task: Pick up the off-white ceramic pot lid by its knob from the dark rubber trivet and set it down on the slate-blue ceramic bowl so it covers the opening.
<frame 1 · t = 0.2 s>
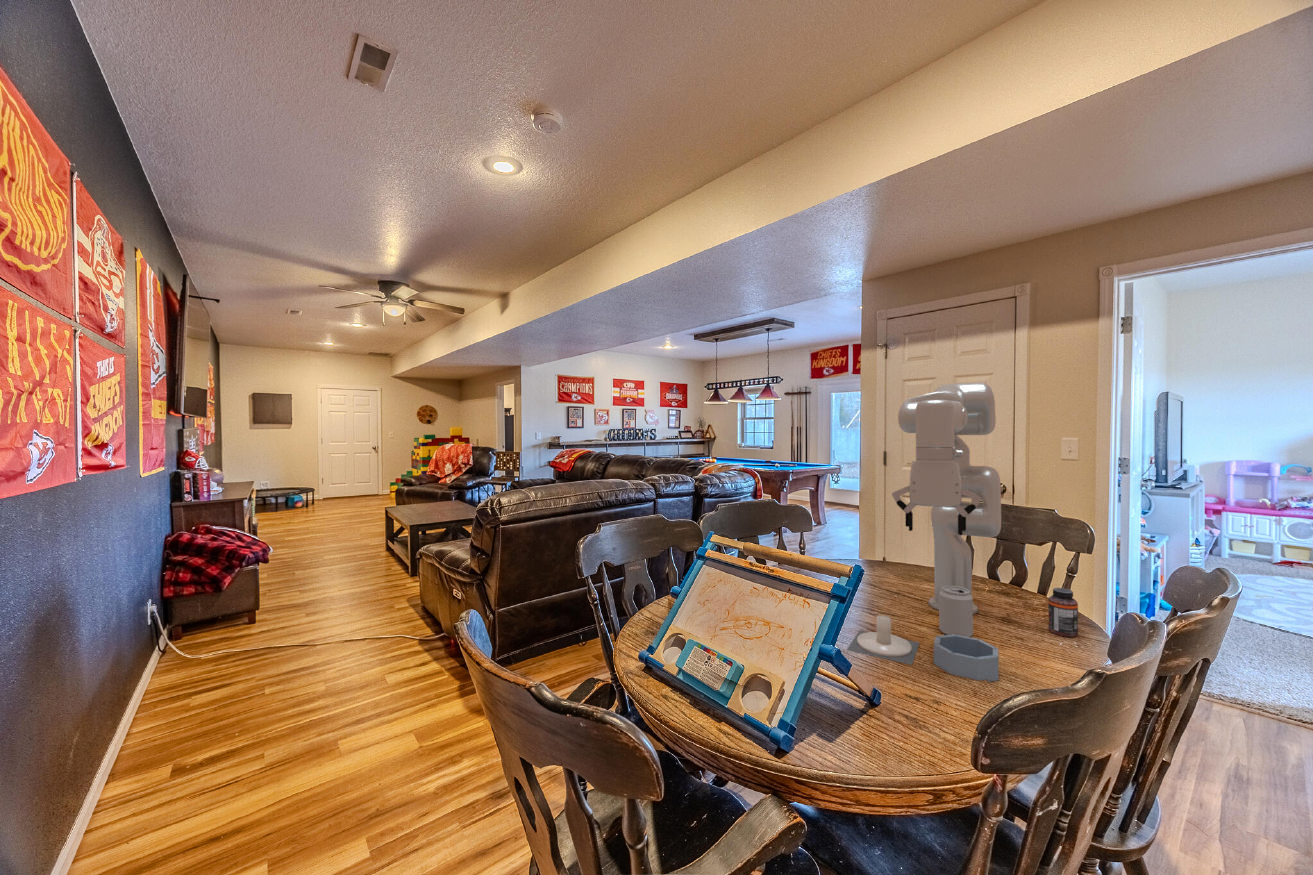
hand: (934, 531, 110), 30 cm above the table, fingers open, 9 cm apart
can: (955, 635, 128), on the table
bowl: (965, 668, 110), on the table
lid: (883, 646, 120), point 1 cm above the table, touching trivet
trivet: (883, 648, 120), on the table
supplement bottle: (1063, 633, 128), on the table
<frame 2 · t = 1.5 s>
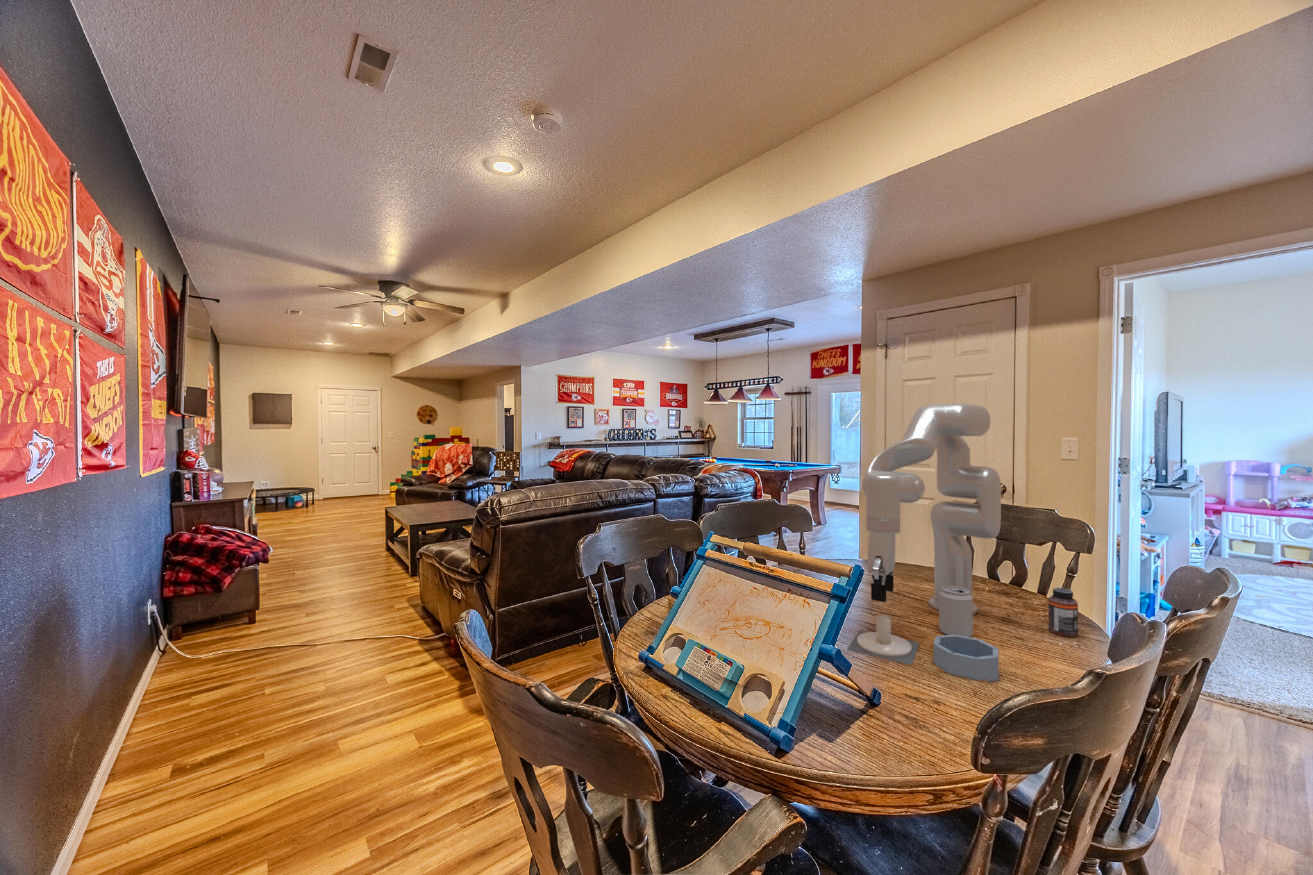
hand: (882, 595, 120), 13 cm above the table, fingers open, 9 cm apart
nothing on the table moved.
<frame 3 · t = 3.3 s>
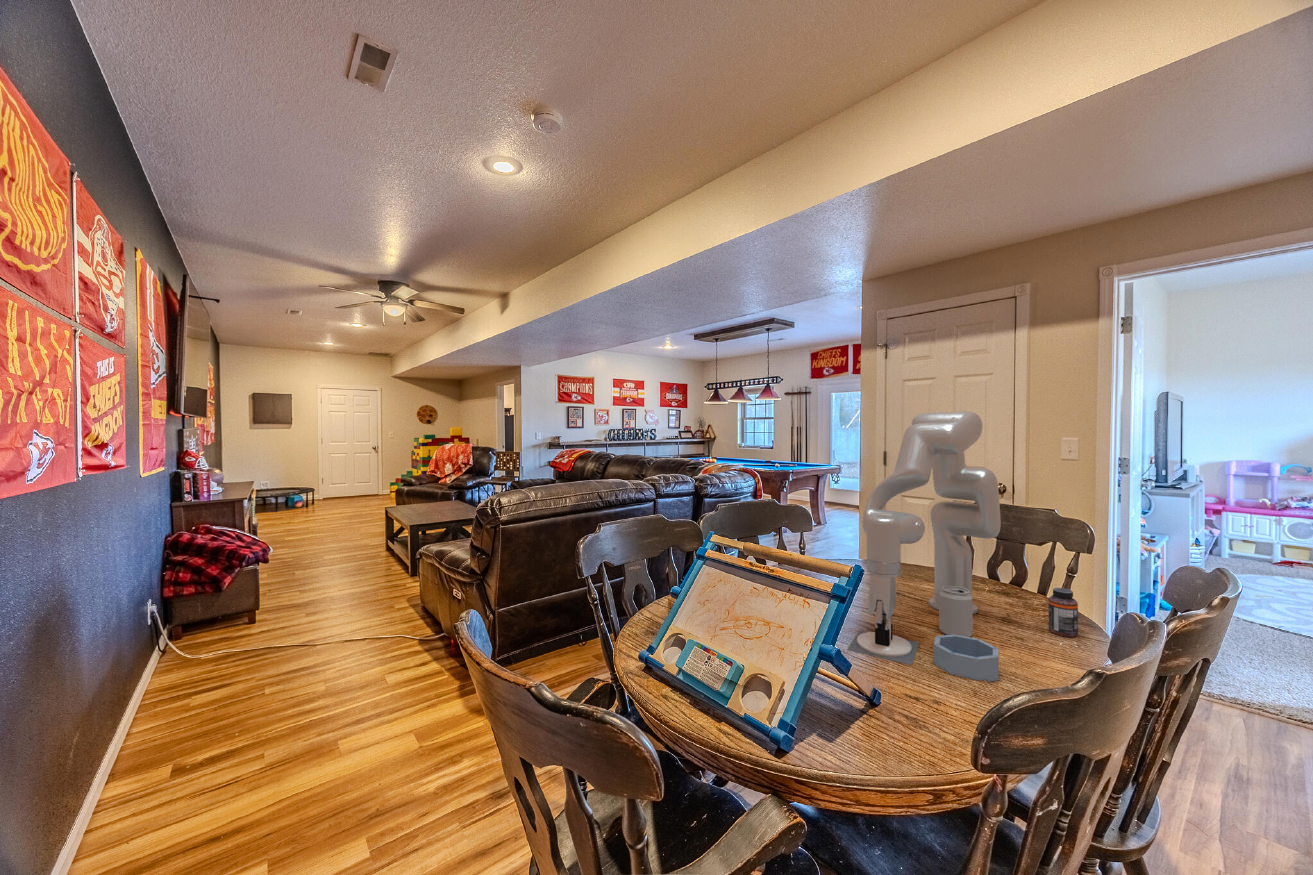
hand: (883, 641, 120), 2 cm above the table, fingers closed on lid, 3 cm apart
lid: (883, 645, 120), point 1 cm above the table, touching gripper, trivet
everything else where it was.
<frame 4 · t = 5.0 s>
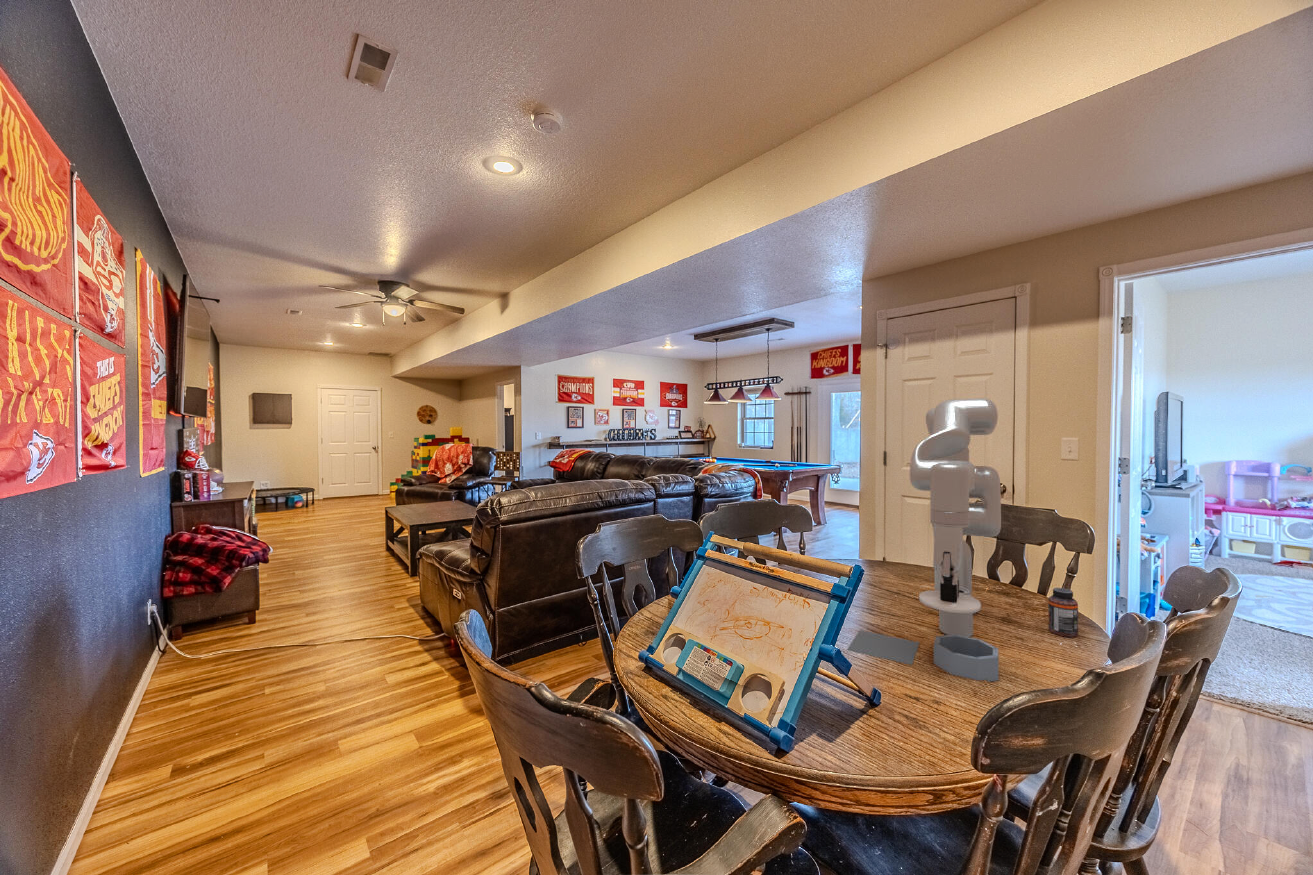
hand: (949, 598, 112), 15 cm above the table, fingers closed on lid, 3 cm apart
lid: (949, 603, 112), point 14 cm above the table, touching gripper
everything else where it was.
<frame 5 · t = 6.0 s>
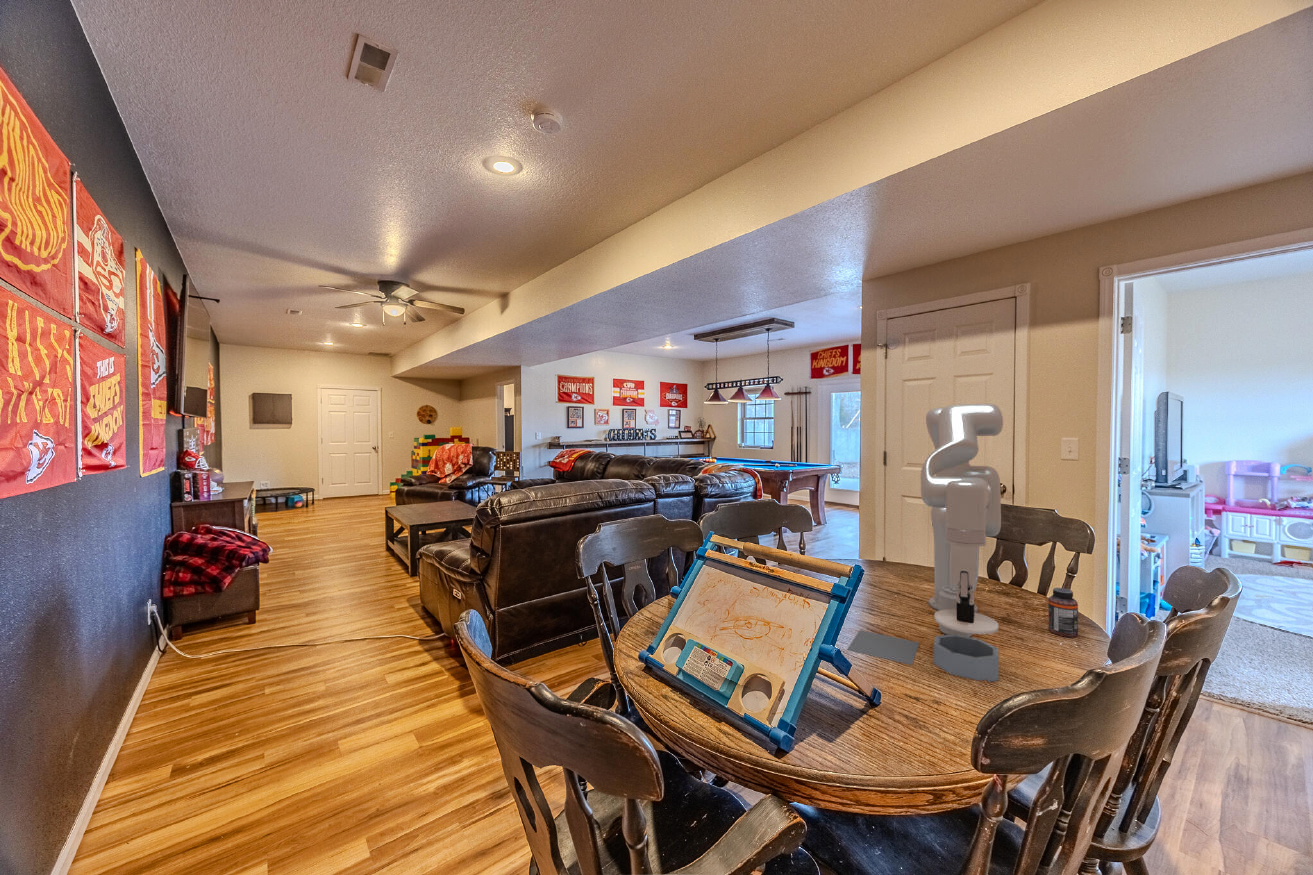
hand: (965, 618, 110), 11 cm above the table, fingers closed on lid, 3 cm apart
lid: (965, 623, 110), point 10 cm above the table, touching gripper
everything else where it was.
when the fingers open (8 cm above the table, at t = 6.8 s): lid drops 2 cm, resting on bowl.
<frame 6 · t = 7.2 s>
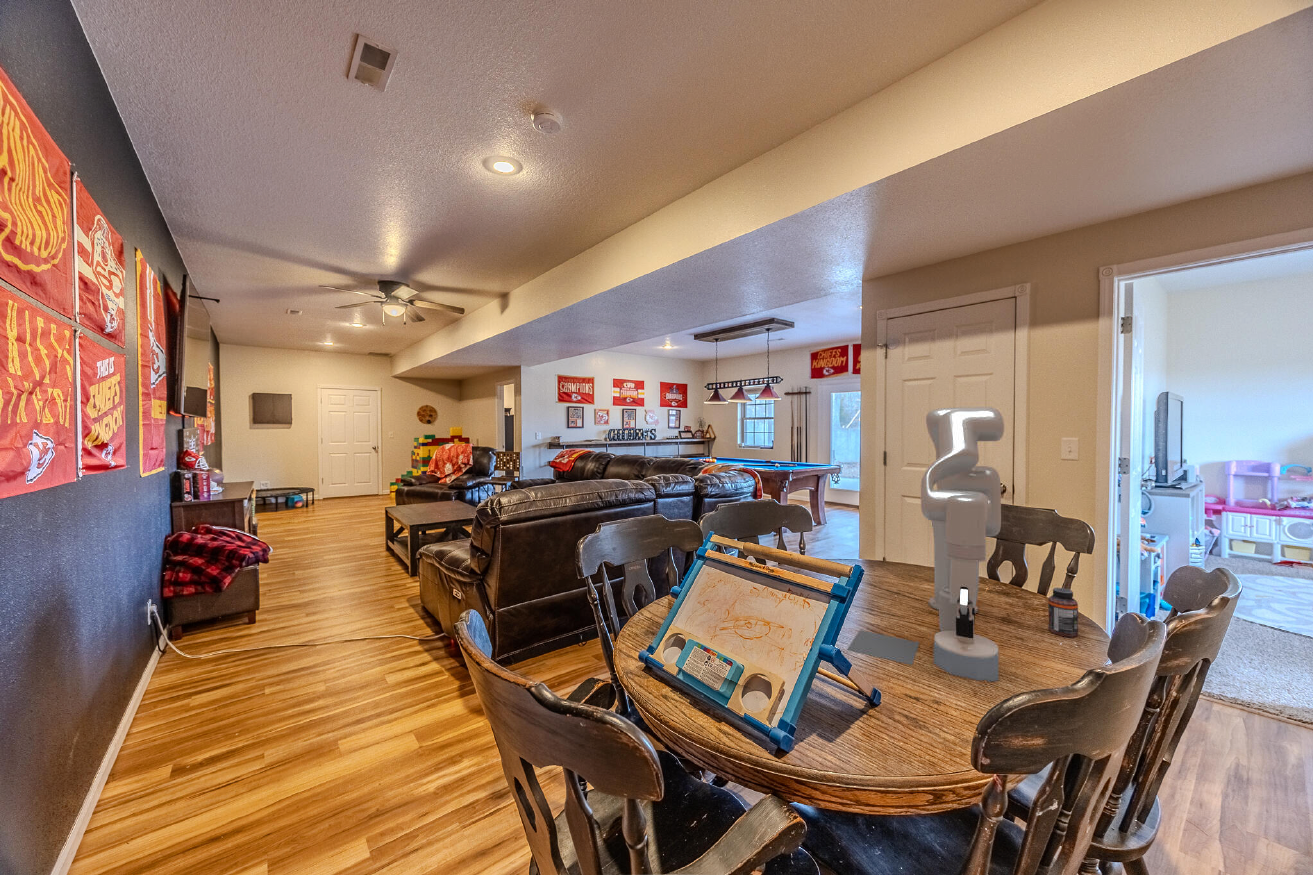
hand: (965, 629, 110), 9 cm above the table, fingers open, 7 cm apart
lid: (965, 645, 110), point 5 cm above the table, touching bowl
everything else where it was.
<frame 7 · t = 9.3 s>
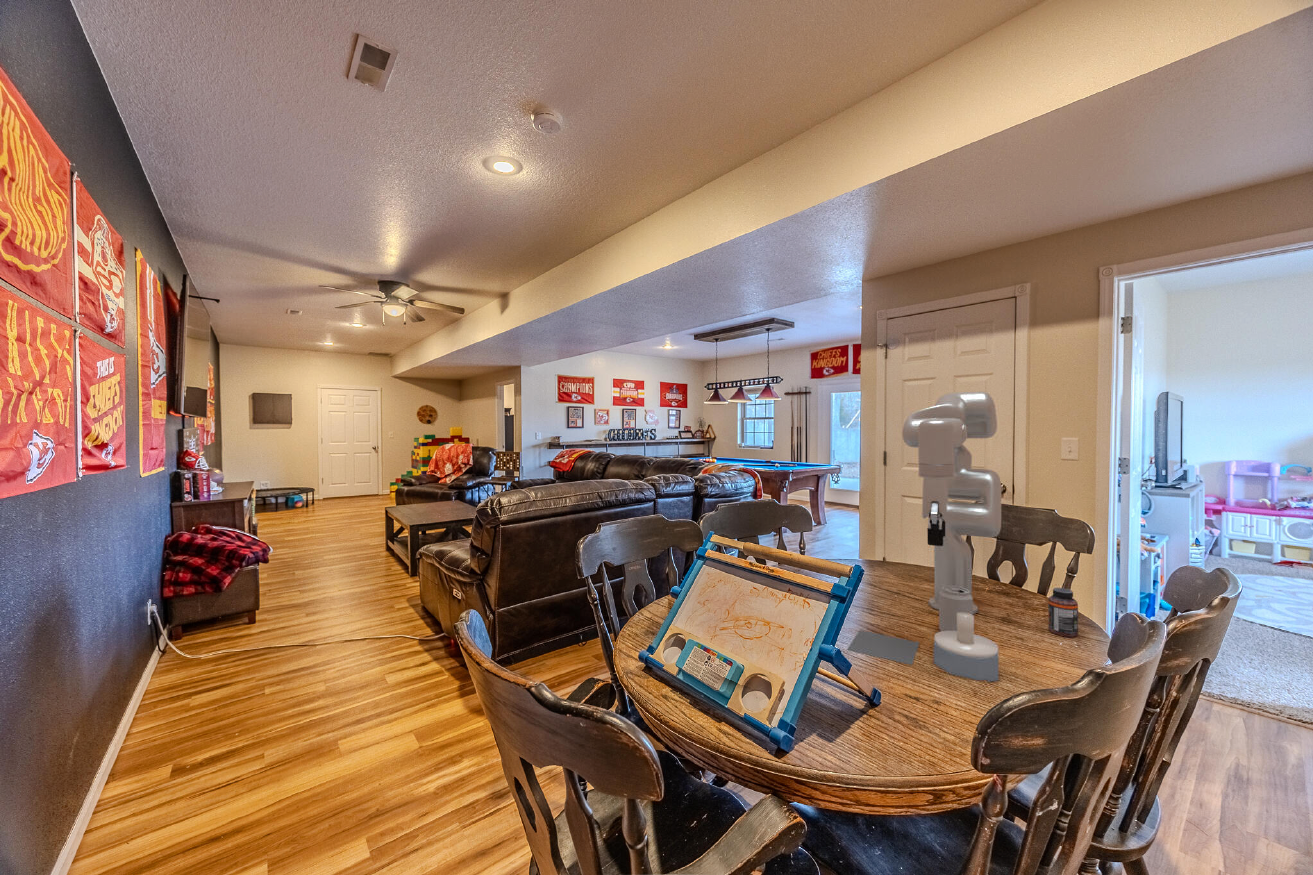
hand: (936, 540, 120), 26 cm above the table, fingers open, 9 cm apart
nothing on the table moved.
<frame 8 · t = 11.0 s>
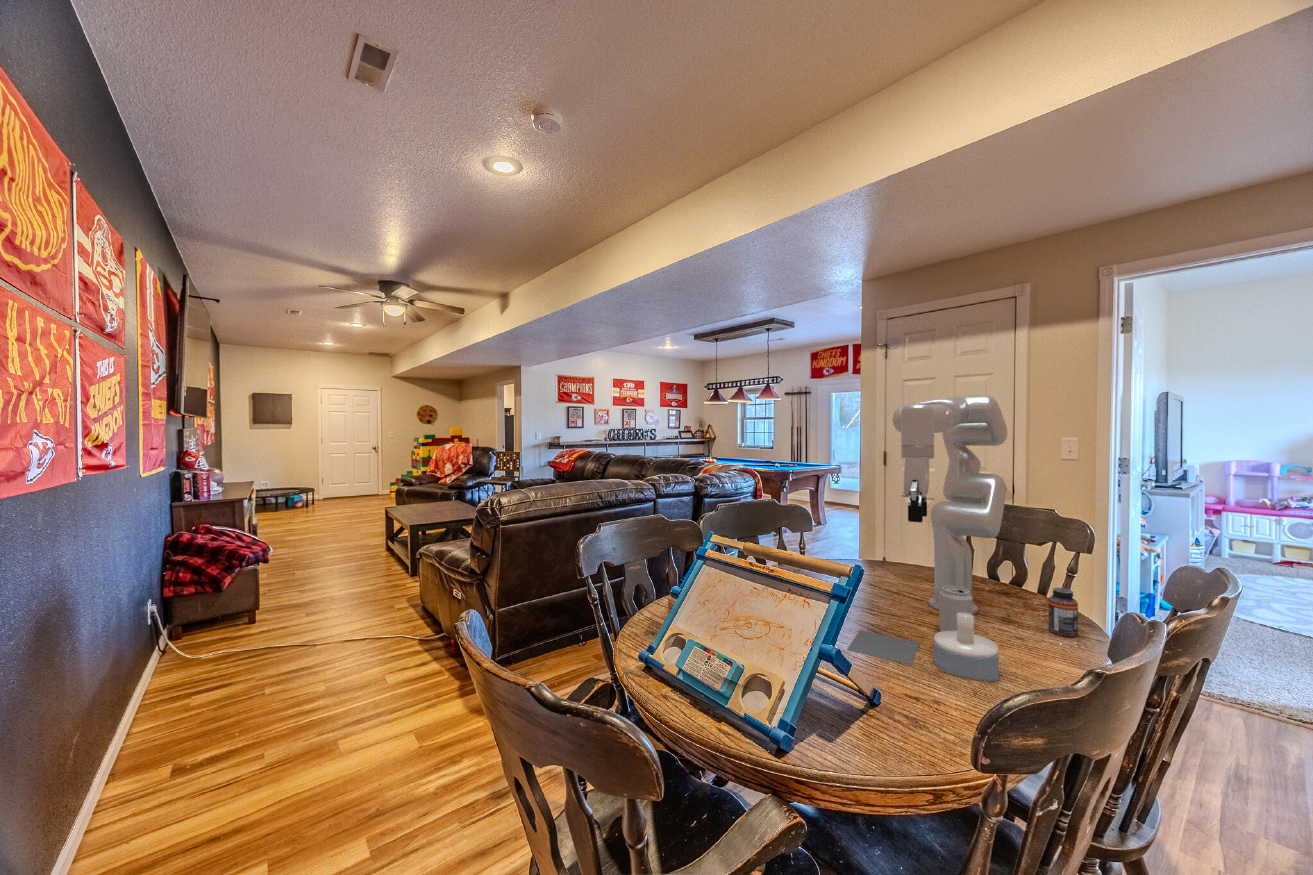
hand: (917, 518, 127), 30 cm above the table, fingers open, 9 cm apart
nothing on the table moved.
at the end: lid 0.1 cm off-centre on the bowl, point 5.0 cm above the bowl's base; lid tilted 0°; the gripper is holding nothing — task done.
